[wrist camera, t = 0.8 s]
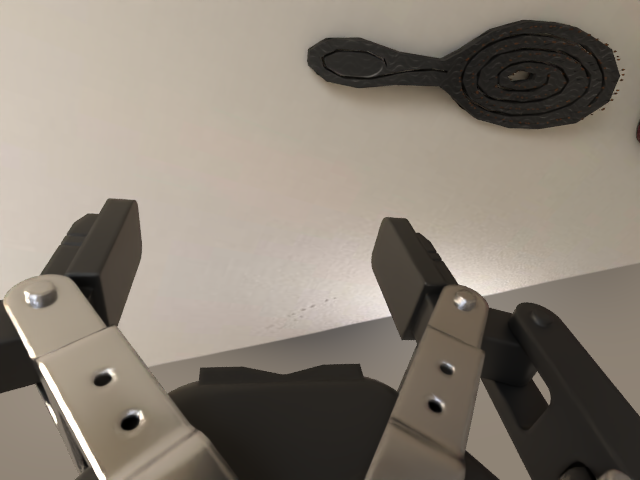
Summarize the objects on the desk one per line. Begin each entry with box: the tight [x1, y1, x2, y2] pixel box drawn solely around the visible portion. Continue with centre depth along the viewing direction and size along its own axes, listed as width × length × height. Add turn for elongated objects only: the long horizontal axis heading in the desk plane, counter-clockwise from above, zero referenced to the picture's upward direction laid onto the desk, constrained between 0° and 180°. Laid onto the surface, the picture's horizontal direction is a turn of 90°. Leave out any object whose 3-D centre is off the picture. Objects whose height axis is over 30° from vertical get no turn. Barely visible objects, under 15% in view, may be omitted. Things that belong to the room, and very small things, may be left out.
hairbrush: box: [307, 20, 624, 129], centre depth 30 cm, size 8×4×25 cm
